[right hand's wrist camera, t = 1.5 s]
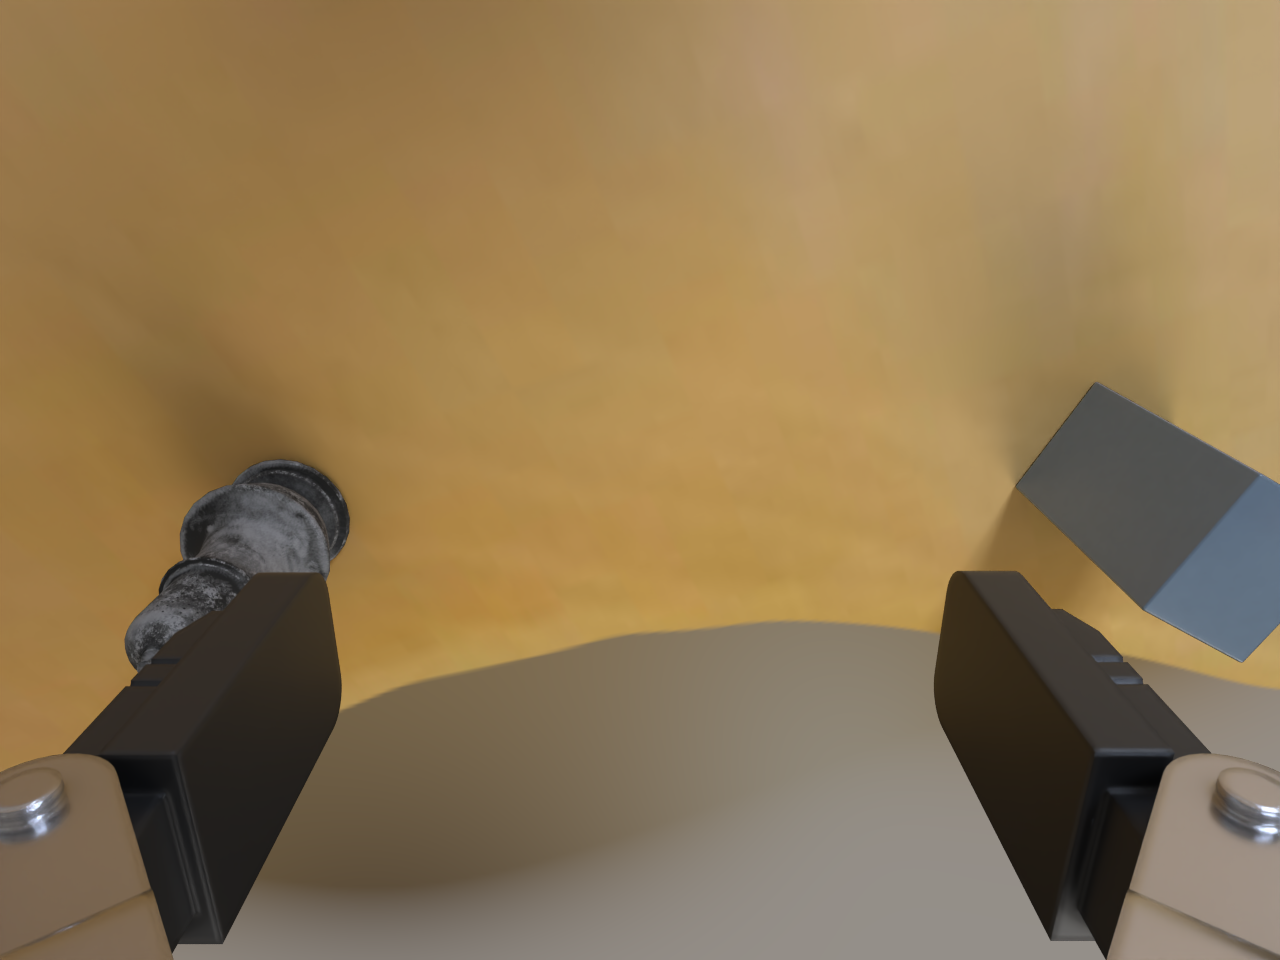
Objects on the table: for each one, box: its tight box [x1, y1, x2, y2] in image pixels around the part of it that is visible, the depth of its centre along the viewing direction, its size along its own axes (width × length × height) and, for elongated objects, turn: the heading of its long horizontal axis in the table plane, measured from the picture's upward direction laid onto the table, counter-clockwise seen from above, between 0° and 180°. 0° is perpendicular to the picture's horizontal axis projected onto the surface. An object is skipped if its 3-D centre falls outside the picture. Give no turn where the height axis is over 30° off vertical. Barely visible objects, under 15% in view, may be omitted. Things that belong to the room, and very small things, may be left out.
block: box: [1016, 382, 1280, 662], centre depth 32 cm, size 4×5×10 cm
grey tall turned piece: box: [125, 459, 350, 673], centre depth 32 cm, size 6×6×12 cm
